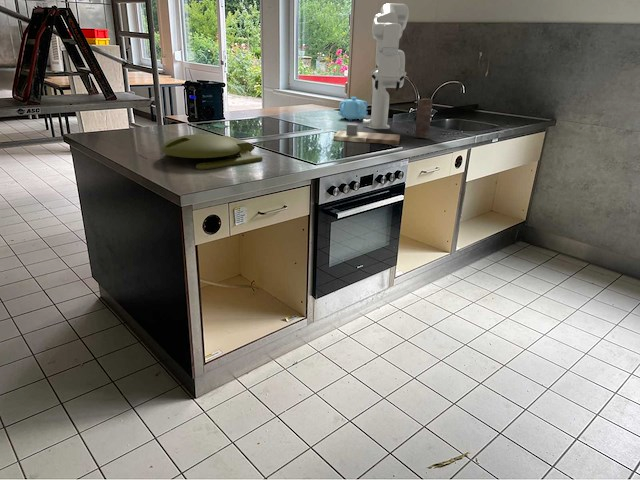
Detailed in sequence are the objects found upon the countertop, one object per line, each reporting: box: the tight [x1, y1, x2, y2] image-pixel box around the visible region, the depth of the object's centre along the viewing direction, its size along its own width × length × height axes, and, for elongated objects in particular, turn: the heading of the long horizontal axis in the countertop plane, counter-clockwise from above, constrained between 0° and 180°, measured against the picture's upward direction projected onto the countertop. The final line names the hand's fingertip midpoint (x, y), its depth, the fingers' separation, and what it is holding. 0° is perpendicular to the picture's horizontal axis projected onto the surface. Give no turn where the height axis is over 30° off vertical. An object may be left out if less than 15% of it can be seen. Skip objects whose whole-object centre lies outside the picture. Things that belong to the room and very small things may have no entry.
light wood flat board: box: [333, 130, 401, 146], centre depth 244 cm, size 32×16×2 cm, turn 80°
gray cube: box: [345, 122, 359, 136], centre depth 243 cm, size 5×5×5 cm
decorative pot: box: [337, 96, 369, 121], centre depth 302 cm, size 20×20×14 cm
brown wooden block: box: [414, 98, 433, 139], centre depth 249 cm, size 8×7×20 cm
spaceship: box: [160, 133, 264, 171], centre depth 192 cm, size 35×31×10 cm
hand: (386, 89), depth 233 cm, fingers open, 9 cm apart
